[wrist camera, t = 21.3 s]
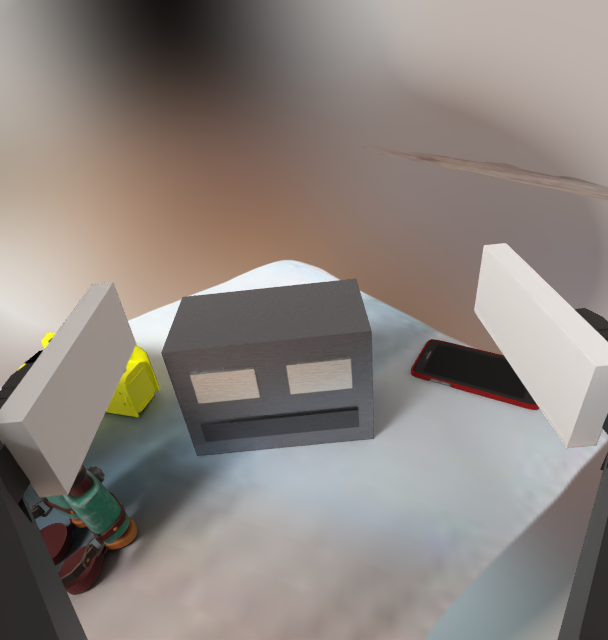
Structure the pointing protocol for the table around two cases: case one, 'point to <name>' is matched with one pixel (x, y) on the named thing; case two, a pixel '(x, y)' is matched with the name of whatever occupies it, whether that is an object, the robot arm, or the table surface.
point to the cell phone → (472, 372)
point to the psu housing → (273, 367)
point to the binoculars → (85, 511)
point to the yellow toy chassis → (126, 382)
